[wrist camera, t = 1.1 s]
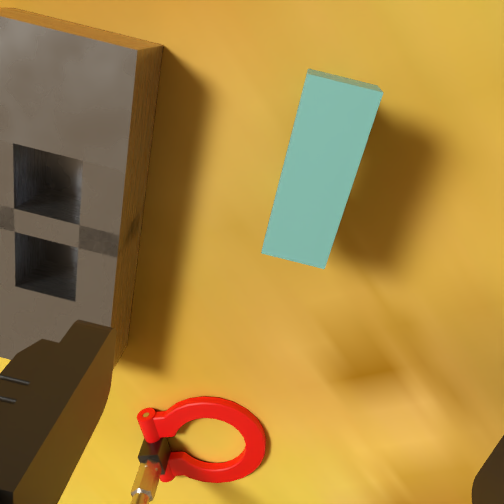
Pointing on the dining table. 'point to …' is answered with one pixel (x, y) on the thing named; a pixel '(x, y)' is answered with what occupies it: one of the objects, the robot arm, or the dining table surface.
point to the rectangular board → (71, 175)
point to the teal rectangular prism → (320, 166)
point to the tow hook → (180, 463)
